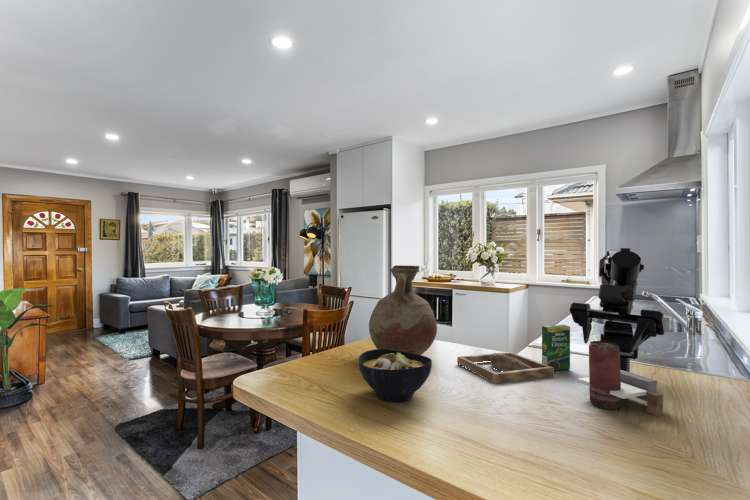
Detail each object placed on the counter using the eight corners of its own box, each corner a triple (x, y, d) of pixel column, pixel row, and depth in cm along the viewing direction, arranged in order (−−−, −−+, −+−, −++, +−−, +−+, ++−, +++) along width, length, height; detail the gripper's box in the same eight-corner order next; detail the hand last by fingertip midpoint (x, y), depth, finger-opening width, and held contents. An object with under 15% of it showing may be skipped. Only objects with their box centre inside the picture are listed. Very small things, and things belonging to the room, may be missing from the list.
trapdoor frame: (594, 389, 95) (595, 372, 95) (662, 415, 80) (663, 394, 80) (589, 390, 94) (589, 372, 94) (656, 416, 80) (657, 395, 80)
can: (582, 399, 88) (581, 340, 87) (608, 397, 88) (606, 339, 88) (600, 411, 82) (599, 348, 81) (627, 409, 82) (626, 346, 82)
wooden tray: (510, 359, 121) (510, 351, 121) (553, 376, 105) (553, 367, 105) (457, 364, 114) (457, 356, 114) (495, 383, 98) (495, 374, 98)
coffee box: (546, 371, 109) (547, 326, 109) (540, 368, 112) (541, 324, 112) (570, 370, 111) (571, 326, 111) (563, 367, 114) (564, 324, 114)
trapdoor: (610, 384, 94) (611, 366, 94) (660, 401, 83) (660, 381, 83) (576, 388, 90) (577, 370, 90) (624, 407, 79) (624, 387, 79)
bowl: (392, 378, 100) (393, 341, 100) (445, 397, 88) (446, 354, 88) (343, 393, 88) (344, 351, 88) (396, 418, 76) (398, 368, 76)
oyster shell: (527, 378, 103) (528, 361, 103) (483, 369, 111) (484, 352, 111) (536, 370, 111) (536, 354, 111) (494, 362, 118) (495, 346, 118)
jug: (429, 350, 130) (431, 264, 130) (443, 370, 108) (446, 267, 108) (367, 349, 128) (369, 263, 129) (369, 369, 107) (371, 265, 107)
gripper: (572, 270, 95) (555, 318, 87) (664, 274, 82) (653, 331, 74) (582, 299, 101) (566, 346, 93) (669, 307, 87) (660, 363, 80)
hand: (607, 346), depth 85 cm, fingers open, 9 cm apart
